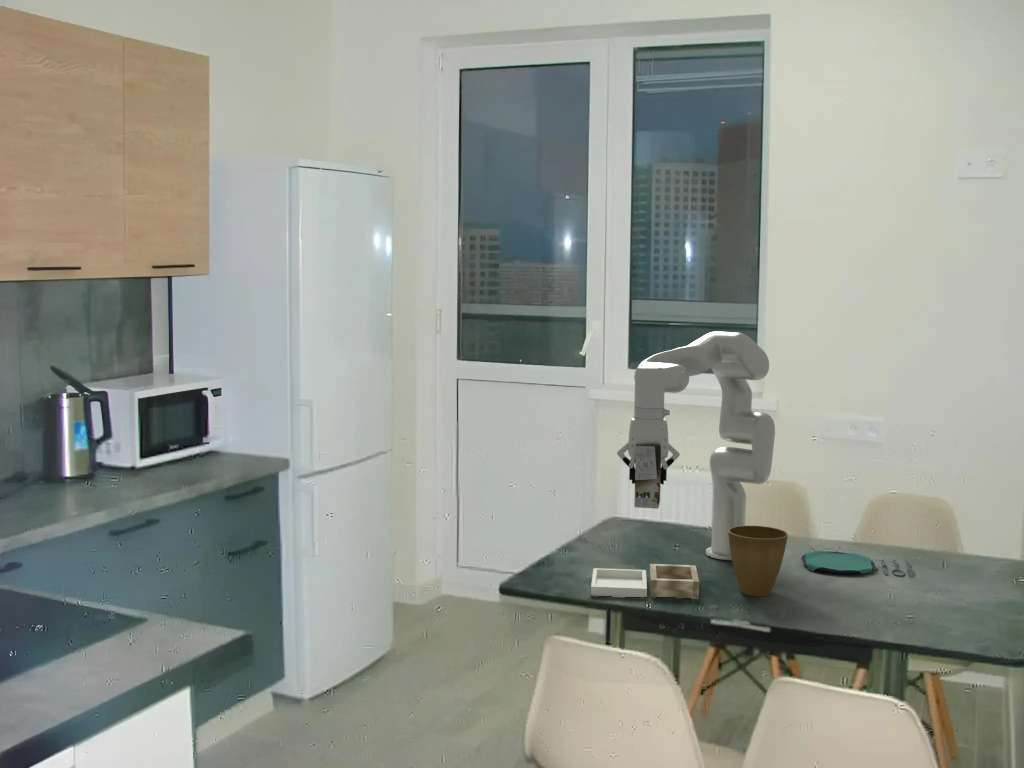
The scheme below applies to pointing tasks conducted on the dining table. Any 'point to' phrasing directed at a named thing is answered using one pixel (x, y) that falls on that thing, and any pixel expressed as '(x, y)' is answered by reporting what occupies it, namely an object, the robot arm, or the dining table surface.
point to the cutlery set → (846, 563)
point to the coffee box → (647, 476)
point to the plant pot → (757, 557)
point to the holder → (674, 581)
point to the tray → (619, 583)
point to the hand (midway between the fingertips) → (647, 482)
